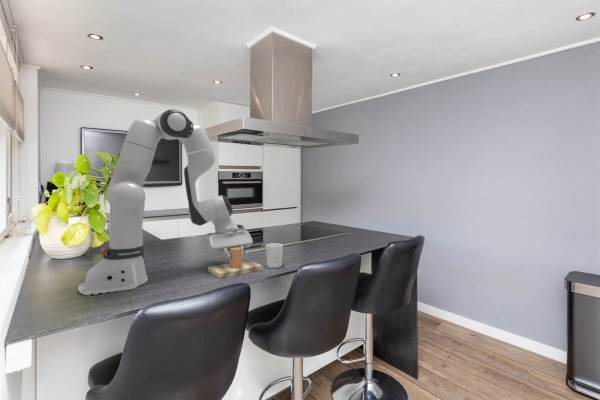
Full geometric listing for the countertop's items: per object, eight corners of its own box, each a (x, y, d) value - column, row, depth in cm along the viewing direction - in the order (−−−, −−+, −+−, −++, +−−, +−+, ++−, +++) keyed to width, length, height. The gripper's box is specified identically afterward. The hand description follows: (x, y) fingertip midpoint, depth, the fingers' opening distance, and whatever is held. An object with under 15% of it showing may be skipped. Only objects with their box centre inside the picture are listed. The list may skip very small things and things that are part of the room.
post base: (219, 278, 121) (219, 256, 121) (208, 271, 131) (207, 251, 130) (262, 270, 134) (262, 250, 133) (248, 264, 143) (248, 245, 143)
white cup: (278, 269, 136) (279, 247, 135) (263, 267, 138) (263, 245, 137) (285, 264, 143) (285, 243, 142) (270, 263, 146) (270, 242, 145)
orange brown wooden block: (233, 268, 129) (233, 249, 129) (228, 266, 133) (228, 248, 132) (242, 266, 132) (242, 248, 131) (237, 264, 135) (237, 246, 135)
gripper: (206, 229, 130) (215, 256, 123) (247, 225, 143) (258, 249, 136) (202, 238, 134) (211, 264, 127) (243, 233, 147) (253, 257, 140)
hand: (236, 256), depth 131 cm, fingers closed on orange brown wooden block, 4 cm apart
